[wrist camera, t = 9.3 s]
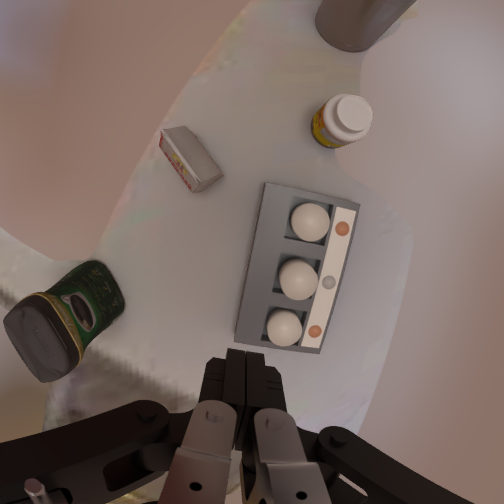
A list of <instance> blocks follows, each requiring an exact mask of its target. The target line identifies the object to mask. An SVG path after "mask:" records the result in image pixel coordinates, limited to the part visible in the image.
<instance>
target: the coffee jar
mask: <svg viewBox="0 0 504 504" xmlns="http://www.w3.org/2000/svg"><path fill="white" fill-rule="evenodd" d="M123 310H124V302H123V299H122V296H121V294H120V292H119V289H118V288H117V286H116V284H115V282H114V280H113V278H112V277H111V275H110V274H109V272H108V271H107V269H106V268H105V267H104V266H103V265H102V264H101V263H99V262H97V261H88V262H85V263H83V264H81V265H79V266H77V267H76V268H74V269H73V270H71V271H70V272H69V273H68V274H67V275H65V276H64V277H63V278H62V279H61V280H60V281H59V282H57V283H56V284H55V285H54V286H52V287H51V288H50V289H48V290H47V291H45V292H37V293H33V294H30V295H28V296H27V297H25V298H23V299H22V300H21V301H20V302H19V303H18V304H17V305H16V306H15V307H14V308H13V309H12V310H11V311H10V312H9V313H8V314H7V315H6V316H5V318H4V320H3V323H4V327H5V330H6V332H7V335H8V337H9V339H10V340H11V342H12V344H13V346H14V347H15V349H16V351H17V352H18V354H19V355H20V357H21V358H22V360H23V361H24V363H25V364H26V366H27V367H28V369H29V370H30V371H31V372H32V374H33V375H34V376H35V377H36V378H37V379H38V380H39V381H40V382H42V383H46V382H52V381H55V380H58V379H60V378H62V377H64V376H65V375H67V374H68V373H69V372H70V371H72V370H73V369H74V368H76V367H77V366H78V365H79V364H80V362H81V360H82V358H83V354H84V351H85V349H86V347H87V346H88V345H89V343H90V342H91V341H92V340H93V339H94V338H95V337H96V336H98V335H99V334H100V333H101V332H102V331H104V330H105V329H106V328H107V327H109V326H110V325H111V324H112V323H113V322H115V321H116V320H117V319H118V318H119V317H120V316H121V314H122V313H123Z"/></svg>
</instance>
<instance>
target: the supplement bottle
mask: <svg viewBox="0 0 504 504" xmlns="http://www.w3.org/2000/svg"><path fill="white" fill-rule="evenodd" d="M372 118H373V113H372V109H371V107H370V105H369V104H368V102H367V101H366V100H365V99H363V98H362V97H360V96H357V95H351V94H338V95H336V96H334V97H332V98H331V99H329V100H328V101H327V102H326V103H325V104H324V105H323V107H322V108H321V109H320V110H319V111H318V112H317V113H316V114H315V115H314V117H313V119H312V122H311V131H312V134H313V136H314V138H315V139H316V140H317V142H319V143H320V144H321V145H323V146H325V147H328V148H339V147H342V146H345V145H347V144H350V143H353V142H355V141H358V140H360V139H362V138H363V137H365V136H366V134H367V133H368V132H369V130H370V127H371V122H372Z"/></svg>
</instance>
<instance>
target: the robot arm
mask: <svg viewBox="0 0 504 504" xmlns="http://www.w3.org/2000/svg"><path fill="white" fill-rule="evenodd" d="M415 1H416V0H323V1H322V3H321V5H320V7H319V10H318V12H317V14H316V19H315V20H316V26H317V29H318V31H319V33H320V34H321V36H322V37H323V38H324V39H325V40H326V41H327V42H329V43H330V44H331V45H333V46H335V47H336V48H339V49H341V50H345V51H349V52H359V51H363V50H366V49H368V48H369V47H371V46H372V44H373V43H374V42H375V41H376V40H377V39H378V38H379V37H380V36H381V35H382V34H383V33H384V32H385V31H386V30H387V29H388V28H389V27H390V26H391V25H392V24H393V23H394V22H395V21H396V20H397V19H398V18H399V17H400V16H401V15H402V14H403V13H404V12H405V11H406V10H407V9H408V8H409V7H410V6H411V5H412V4H413V3H414V2H415ZM234 444H235V450H238V451H242V459H241V462H240V466H239V470H240V481H241V492H242V503H243V504H474V503H472V502H470V501H468V500H466V499H464V498H462V497H460V496H458V495H456V494H454V493H452V492H450V491H448V490H447V489H445V488H443V487H441V486H439V485H437V484H435V483H433V482H432V481H430V480H428V479H426V478H425V477H423V476H421V475H419V474H418V473H416V472H414V471H413V470H411V469H409V468H408V467H406V466H404V465H403V464H401V463H399V462H398V461H396V460H394V459H393V458H391V457H389V456H388V455H386V454H385V453H383V452H381V451H380V450H378V449H377V448H375V447H374V446H372V445H371V444H369V443H367V442H366V441H364V440H363V439H361V438H360V437H358V436H357V435H355V434H354V433H352V432H351V431H349V430H347V429H345V428H342V427H338V426H329V427H326V428H324V429H322V430H321V431H320V433H319V434H318V433H314V432H310V431H307V430H304V429H301V428H299V427H298V426H296V423H295V420H294V419H293V417H292V416H291V415H289V414H288V413H287V408H286V403H285V397H284V391H283V385H282V379H281V374H280V373H279V372H278V371H277V369H276V368H275V367H271V366H265V359H264V354H262V353H255V352H249V351H246V353H245V351H243V350H237V349H231V348H228V349H227V354H226V359H220V358H215V357H213V358H212V359H211V360H209V361H208V362H207V363H206V368H205V373H204V378H203V382H202V387H201V392H200V397H199V401H198V404H197V405H196V406H195V408H194V409H192V410H190V411H188V412H185V413H169V412H168V410H167V409H166V408H165V407H164V406H163V405H161V404H159V403H157V402H154V401H150V400H138V401H134V402H132V403H129V404H126V405H124V406H121V407H118V408H116V409H113V410H110V411H107V412H104V413H101V414H99V415H96V416H93V417H90V418H87V419H84V420H81V421H78V422H74V423H71V424H68V425H65V426H62V427H58V428H55V429H52V430H48V431H45V432H41V433H38V434H34V435H31V436H27V437H23V438H19V439H15V440H11V441H7V442H3V443H0V504H106V503H108V502H110V501H112V500H115V499H117V498H119V497H121V496H123V495H125V494H127V493H129V492H131V491H134V490H136V489H138V488H139V487H141V486H143V485H145V484H147V483H149V482H151V481H153V480H155V479H157V478H159V477H160V476H162V475H163V474H164V473H165V472H166V471H169V472H168V475H167V478H166V480H165V483H164V486H163V489H162V492H161V494H160V497H159V500H158V501H152V502H146V503H143V504H224V503H225V497H226V491H227V485H228V478H229V472H230V466H231V459H230V457H231V451H232V450H233V448H234ZM340 474H342V475H343V476H345V477H346V478H347V479H349V480H350V481H352V482H353V483H355V484H356V485H357V486H359V487H360V488H362V489H363V490H364V491H365V492H366V493H367V495H368V497H367V496H365V495H363V494H362V493H360V492H359V491H357V490H356V489H354V488H353V487H352V486H350V485H349V484H347V483H346V482H344V481H343V480H342V479H340V478H339V476H340Z"/></svg>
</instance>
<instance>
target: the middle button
mask: <svg viewBox="0 0 504 504" xmlns="http://www.w3.org/2000/svg"><path fill="white" fill-rule="evenodd" d="M279 281H280V284H281V288H282V290H283V292H284V294H285V295H286V296H287V297H289V298H291V299H293V300H304V299H307V298H309V297H310V296H311V295H312V294H313V293H314V292H315V291H316V289H317V286H318V277H317V274H316V272H315V271H314V270H313V268H312V267H311V266H310V264H309V263H308V262H306V261H305V260H303V259H298V258H295V259H291V260H288V261H287V262H285V263H284V264H283V265H282V267H281V268H280V271H279Z"/></svg>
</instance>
